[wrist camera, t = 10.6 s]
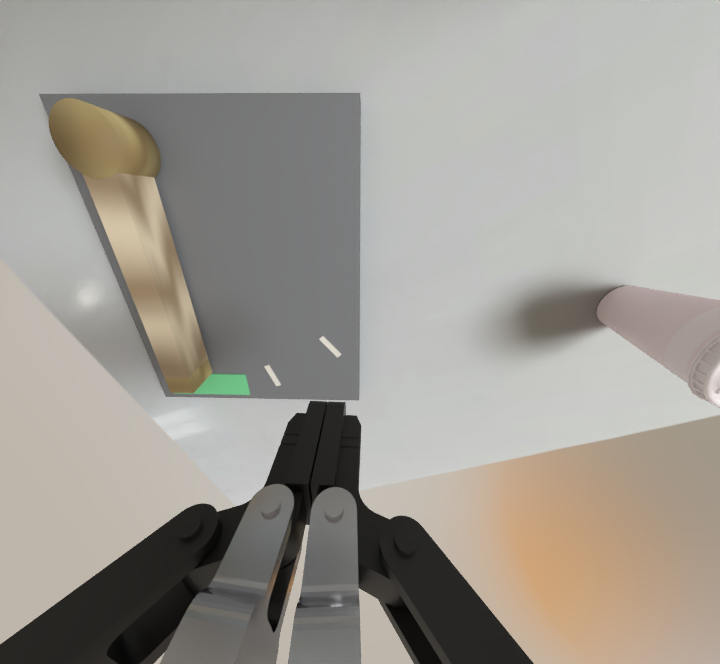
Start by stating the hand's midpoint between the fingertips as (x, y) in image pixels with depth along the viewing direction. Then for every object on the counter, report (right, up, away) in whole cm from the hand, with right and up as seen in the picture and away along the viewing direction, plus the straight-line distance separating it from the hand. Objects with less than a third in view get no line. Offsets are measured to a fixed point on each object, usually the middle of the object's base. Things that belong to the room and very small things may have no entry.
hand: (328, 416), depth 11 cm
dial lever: (-14, +9, +9) cm, 19 cm away
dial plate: (-9, +8, +11) cm, 17 cm away
